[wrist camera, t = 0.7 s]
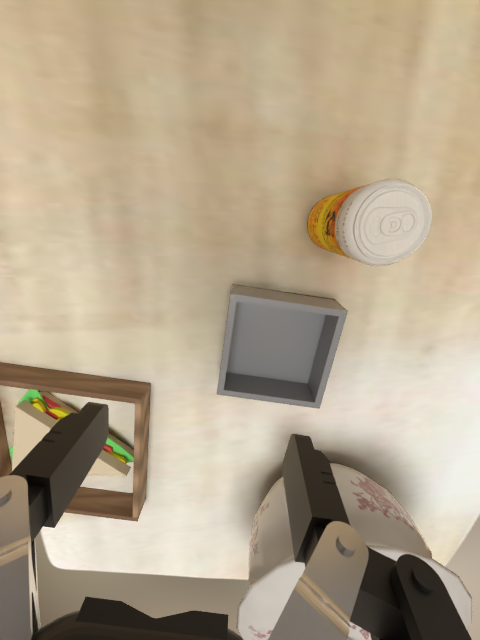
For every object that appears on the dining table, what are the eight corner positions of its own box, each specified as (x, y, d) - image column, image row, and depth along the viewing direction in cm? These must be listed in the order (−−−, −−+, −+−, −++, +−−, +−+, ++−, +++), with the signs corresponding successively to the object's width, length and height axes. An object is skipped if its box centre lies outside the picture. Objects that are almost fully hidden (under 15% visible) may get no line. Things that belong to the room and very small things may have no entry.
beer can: (305, 199, 33) (348, 183, 19) (357, 192, 32) (442, 170, 18) (307, 252, 35) (348, 273, 21) (357, 245, 34) (433, 262, 20)
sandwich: (115, 490, 50) (101, 518, 45) (8, 441, 47) (-19, 466, 42) (153, 432, 45) (142, 457, 41) (38, 374, 42) (12, 393, 38)
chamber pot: (361, 559, 54) (425, 751, 34) (223, 531, 52) (209, 716, 33) (429, 450, 45) (571, 627, 25) (265, 412, 43) (281, 570, 24)
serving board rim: (-13, 360, 41) (-39, 374, 37) (150, 383, 42) (141, 399, 38) (9, 481, 49) (-11, 502, 45) (145, 498, 50) (137, 521, 46)
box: (232, 284, 36) (230, 293, 32) (334, 299, 37) (347, 310, 32) (220, 374, 41) (216, 394, 36) (311, 387, 41) (319, 408, 37)
